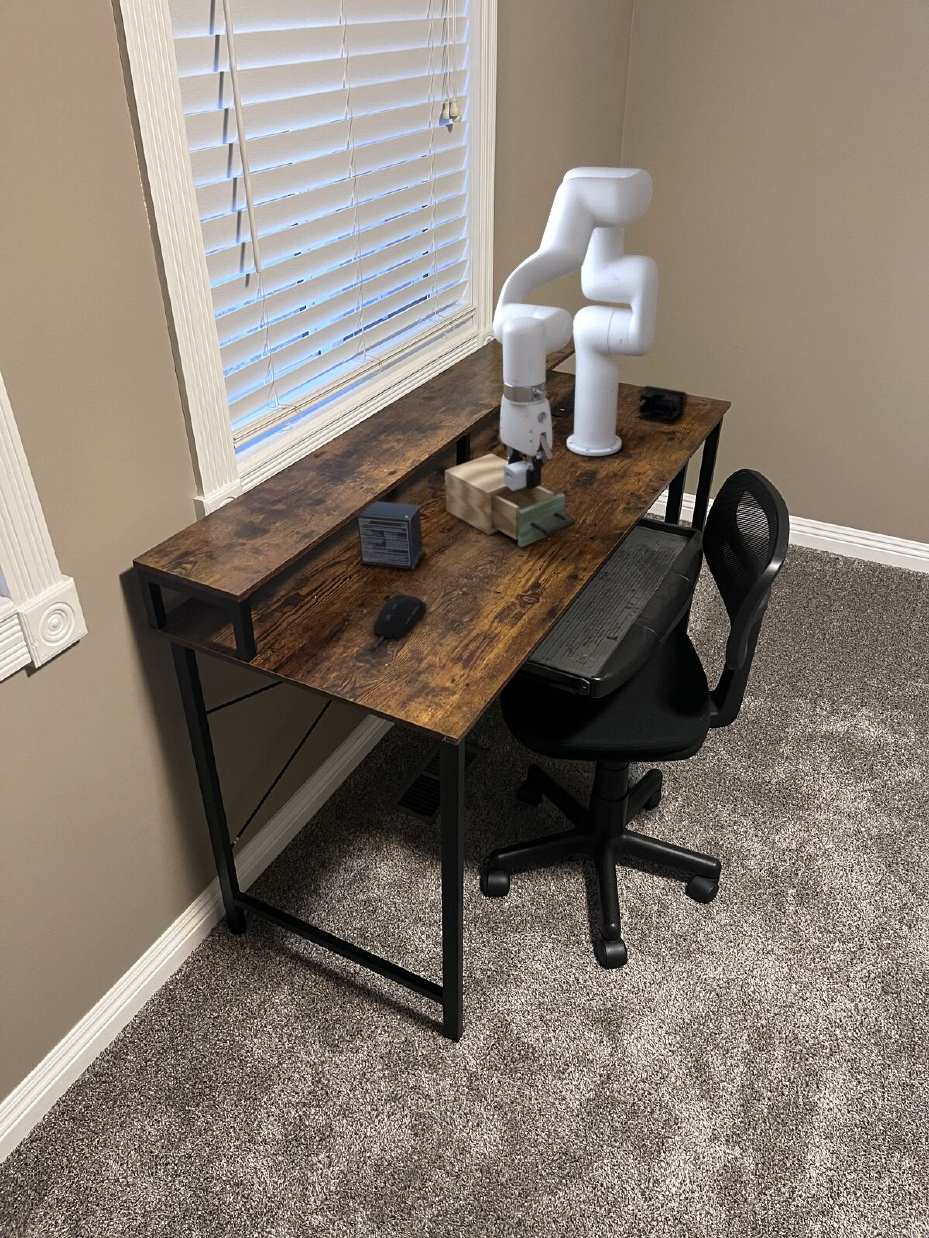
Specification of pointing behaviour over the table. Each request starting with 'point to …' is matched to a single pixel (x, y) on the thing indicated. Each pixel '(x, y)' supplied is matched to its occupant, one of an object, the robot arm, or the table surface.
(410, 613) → the gaming mouse
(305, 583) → the table surface
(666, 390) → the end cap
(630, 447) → the table surface
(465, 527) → the table surface
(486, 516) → the cabinet
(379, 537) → the small box
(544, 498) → the drawer
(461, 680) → the table surface
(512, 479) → the usb wall charger
